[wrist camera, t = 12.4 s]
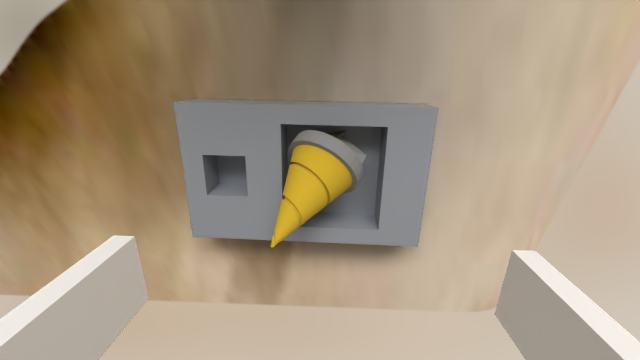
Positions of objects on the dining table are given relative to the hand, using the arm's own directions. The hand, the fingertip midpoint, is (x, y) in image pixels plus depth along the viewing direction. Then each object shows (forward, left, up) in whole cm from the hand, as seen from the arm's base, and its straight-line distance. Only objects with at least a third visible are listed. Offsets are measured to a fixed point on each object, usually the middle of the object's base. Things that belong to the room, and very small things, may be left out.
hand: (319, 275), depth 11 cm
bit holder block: (-2, 0, -14) cm, 14 cm away
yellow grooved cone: (0, 0, -13) cm, 13 cm away
